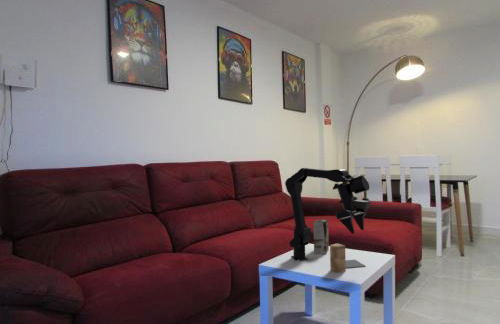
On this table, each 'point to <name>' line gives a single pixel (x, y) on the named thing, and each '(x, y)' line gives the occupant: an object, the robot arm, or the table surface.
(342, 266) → the walnut block
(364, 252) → the table surface
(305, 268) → the table surface
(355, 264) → the mat
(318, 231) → the coffee box
